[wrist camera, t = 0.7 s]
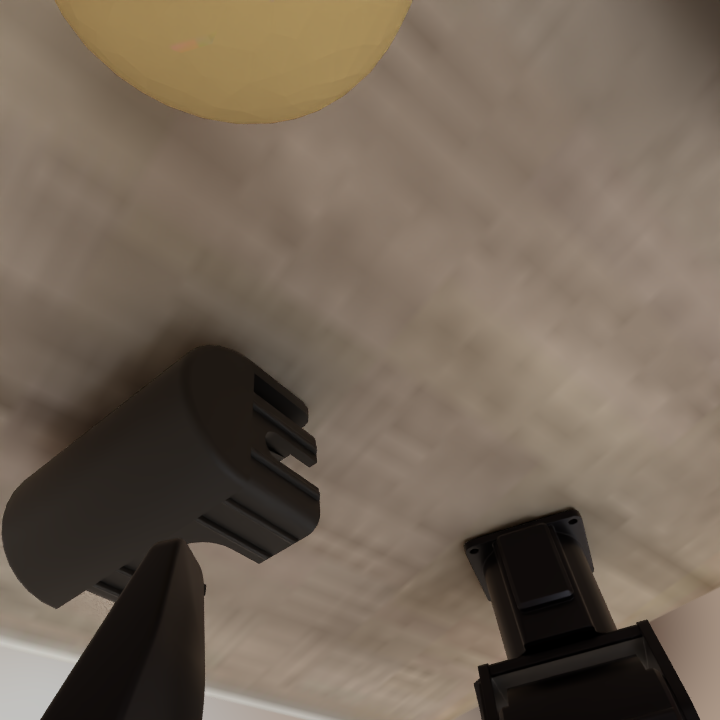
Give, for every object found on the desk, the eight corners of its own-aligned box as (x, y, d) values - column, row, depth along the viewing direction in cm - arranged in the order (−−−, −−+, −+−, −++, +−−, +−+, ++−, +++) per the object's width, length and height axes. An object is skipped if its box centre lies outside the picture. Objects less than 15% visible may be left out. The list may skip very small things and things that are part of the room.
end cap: (196, 302, 23) (172, 435, 18) (321, 403, 27) (332, 537, 22) (32, 435, 26) (-29, 580, 21) (165, 508, 30) (142, 645, 25)
